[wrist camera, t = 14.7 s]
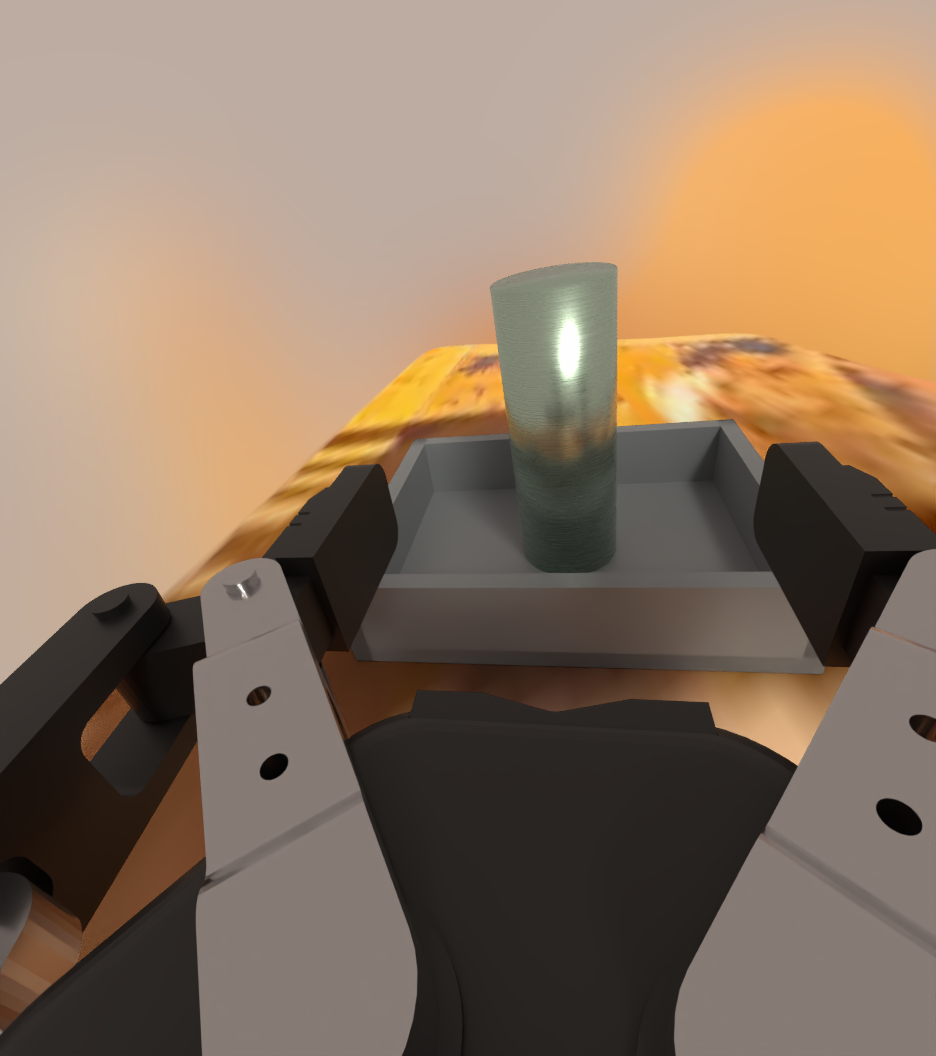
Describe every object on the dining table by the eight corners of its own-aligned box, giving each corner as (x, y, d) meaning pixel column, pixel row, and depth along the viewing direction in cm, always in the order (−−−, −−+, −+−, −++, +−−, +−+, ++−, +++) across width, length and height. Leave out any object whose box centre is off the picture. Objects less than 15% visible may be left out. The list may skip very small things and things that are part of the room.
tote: (722, 485, 29) (733, 419, 27) (822, 674, 18) (855, 587, 16) (426, 496, 32) (414, 439, 30) (355, 660, 21) (329, 588, 19)
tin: (611, 517, 26) (609, 256, 19) (621, 573, 22) (625, 278, 16) (525, 522, 27) (494, 275, 20) (522, 578, 23) (484, 300, 16)
